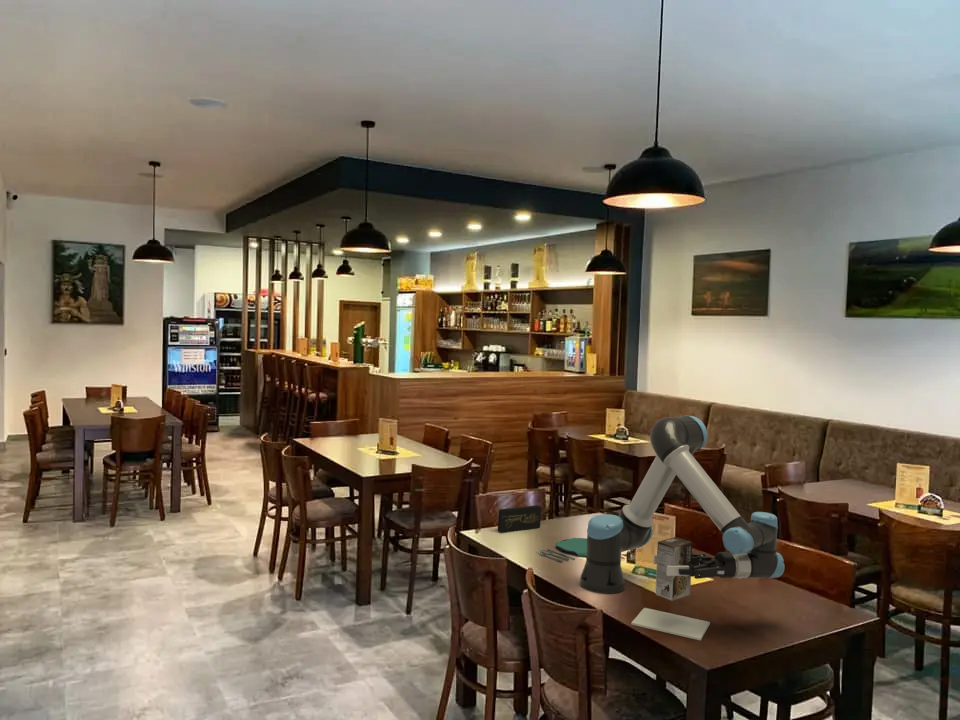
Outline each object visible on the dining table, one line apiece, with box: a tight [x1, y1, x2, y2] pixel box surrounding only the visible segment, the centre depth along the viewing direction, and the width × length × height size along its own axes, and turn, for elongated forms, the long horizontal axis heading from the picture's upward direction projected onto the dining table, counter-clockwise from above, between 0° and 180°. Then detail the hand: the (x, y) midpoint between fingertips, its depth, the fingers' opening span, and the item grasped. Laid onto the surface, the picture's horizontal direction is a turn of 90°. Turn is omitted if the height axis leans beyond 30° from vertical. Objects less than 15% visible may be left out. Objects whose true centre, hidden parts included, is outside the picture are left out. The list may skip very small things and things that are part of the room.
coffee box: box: [655, 536, 693, 601], centre depth 215 cm, size 9×6×16 cm
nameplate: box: [497, 505, 542, 534], centre depth 312 cm, size 21×2×10 cm, turn 121°
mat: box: [631, 607, 711, 641], centre depth 216 cm, size 20×14×1 cm
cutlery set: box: [537, 537, 587, 564], centre depth 285 cm, size 20×30×2 cm, turn 129°
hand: (660, 564), depth 214 cm, fingers closed on coffee box, 10 cm apart
